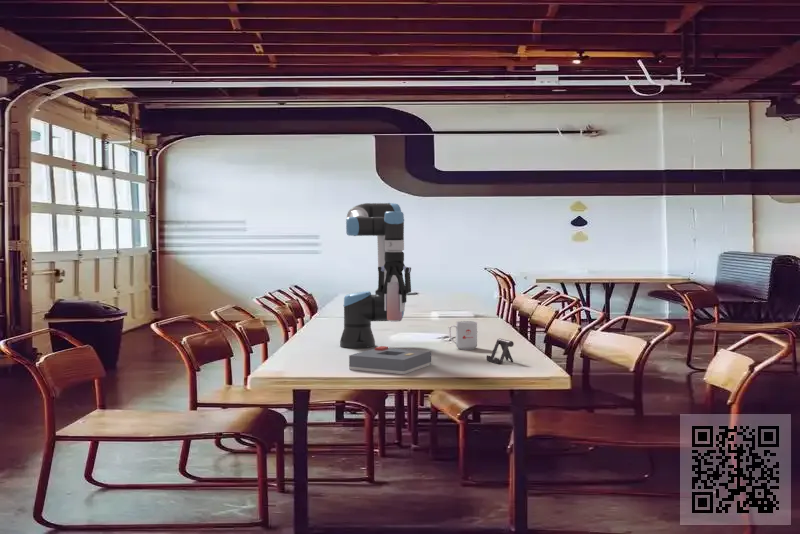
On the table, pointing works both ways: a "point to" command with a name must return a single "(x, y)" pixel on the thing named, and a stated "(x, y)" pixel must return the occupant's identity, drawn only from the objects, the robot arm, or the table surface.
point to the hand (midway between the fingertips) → (394, 310)
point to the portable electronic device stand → (505, 353)
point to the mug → (465, 335)
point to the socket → (390, 360)
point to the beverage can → (393, 302)
